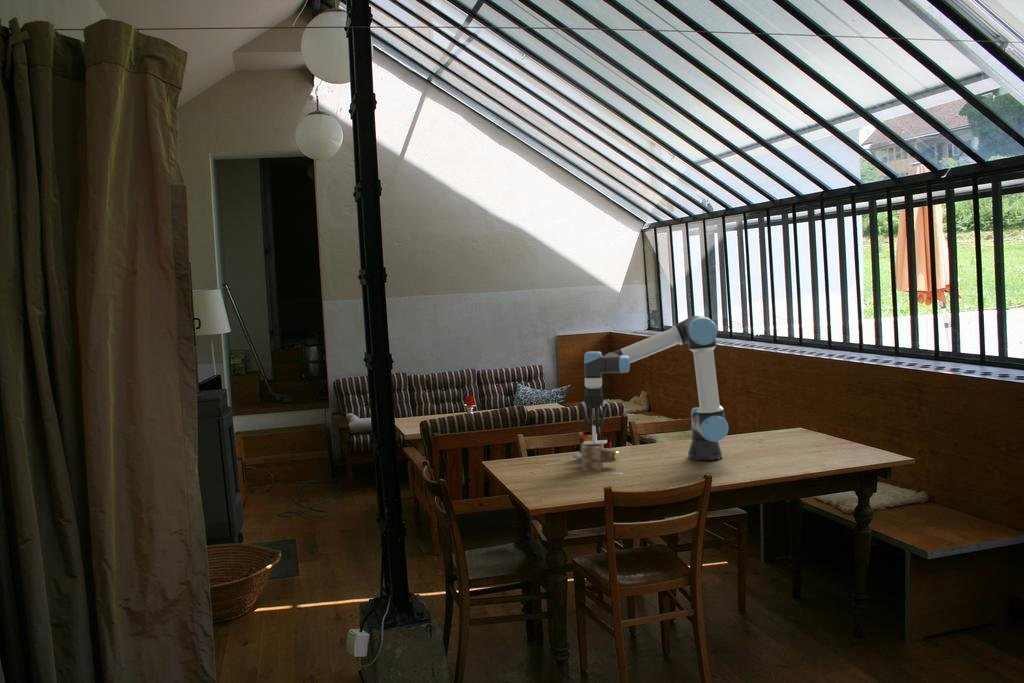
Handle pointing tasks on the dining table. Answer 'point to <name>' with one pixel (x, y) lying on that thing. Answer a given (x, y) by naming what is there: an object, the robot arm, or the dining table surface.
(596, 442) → the keeper flap
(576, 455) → the pin
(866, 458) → the dining table surface
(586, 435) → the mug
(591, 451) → the block
